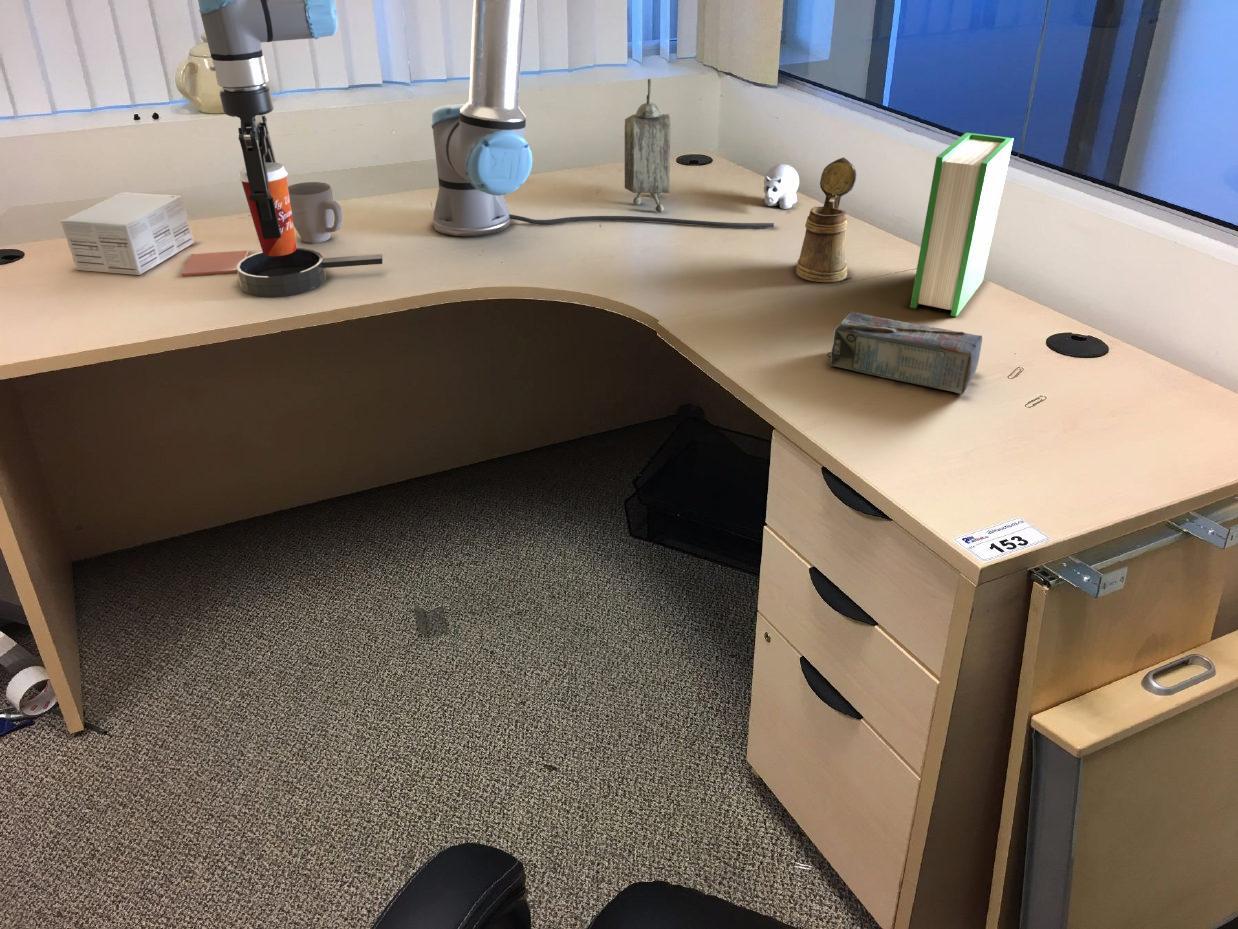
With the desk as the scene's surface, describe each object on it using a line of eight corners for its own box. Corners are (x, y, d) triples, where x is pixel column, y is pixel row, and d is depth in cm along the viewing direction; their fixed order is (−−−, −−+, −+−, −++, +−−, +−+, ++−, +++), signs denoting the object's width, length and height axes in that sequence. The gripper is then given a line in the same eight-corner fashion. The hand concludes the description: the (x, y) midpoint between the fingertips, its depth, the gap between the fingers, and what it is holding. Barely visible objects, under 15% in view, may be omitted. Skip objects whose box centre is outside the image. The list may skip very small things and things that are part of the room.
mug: (282, 241, 181) (272, 191, 175) (315, 228, 187) (307, 179, 182) (329, 251, 176) (320, 200, 171) (361, 237, 182) (354, 188, 177)
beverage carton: (845, 346, 140) (851, 305, 137) (977, 374, 133) (987, 332, 129) (828, 367, 135) (833, 324, 131) (965, 398, 127) (975, 354, 123)
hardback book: (956, 316, 150) (987, 163, 137) (910, 307, 153) (936, 156, 140) (982, 281, 162) (1013, 138, 149) (939, 273, 165) (966, 132, 153)
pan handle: (382, 259, 166) (382, 253, 165) (382, 264, 164) (381, 258, 163) (324, 263, 164) (323, 257, 164) (323, 268, 162) (322, 262, 162)
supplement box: (134, 239, 182) (120, 190, 177) (195, 243, 180) (183, 195, 174) (74, 270, 168) (57, 219, 163) (140, 275, 166) (125, 223, 161)
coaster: (248, 253, 175) (247, 250, 175) (240, 272, 167) (240, 269, 167) (192, 256, 174) (191, 254, 173) (181, 276, 165) (180, 273, 165)
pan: (328, 264, 170) (325, 245, 168) (323, 293, 159) (319, 273, 157) (247, 269, 168) (242, 250, 166) (235, 300, 156) (230, 280, 154)
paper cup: (289, 259, 157) (271, 175, 149) (247, 257, 158) (227, 173, 150) (311, 243, 163) (295, 161, 155) (271, 241, 164) (252, 160, 157)
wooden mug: (856, 259, 171) (870, 159, 162) (841, 285, 161) (855, 179, 151) (807, 253, 174) (818, 154, 164) (790, 278, 164) (800, 174, 154)
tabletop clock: (668, 215, 193) (671, 86, 180) (624, 215, 193) (624, 86, 180) (666, 194, 205) (669, 72, 192) (625, 194, 205) (625, 72, 192)
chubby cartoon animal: (748, 214, 194) (751, 172, 189) (769, 198, 203) (772, 158, 198) (782, 219, 191) (785, 176, 186) (801, 203, 200) (805, 162, 195)
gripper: (228, 74, 154) (260, 211, 166) (207, 101, 137) (243, 252, 149) (276, 72, 155) (303, 208, 168) (260, 98, 138) (292, 248, 150)
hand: (275, 229), depth 158 cm, fingers closed on paper cup, 8 cm apart
